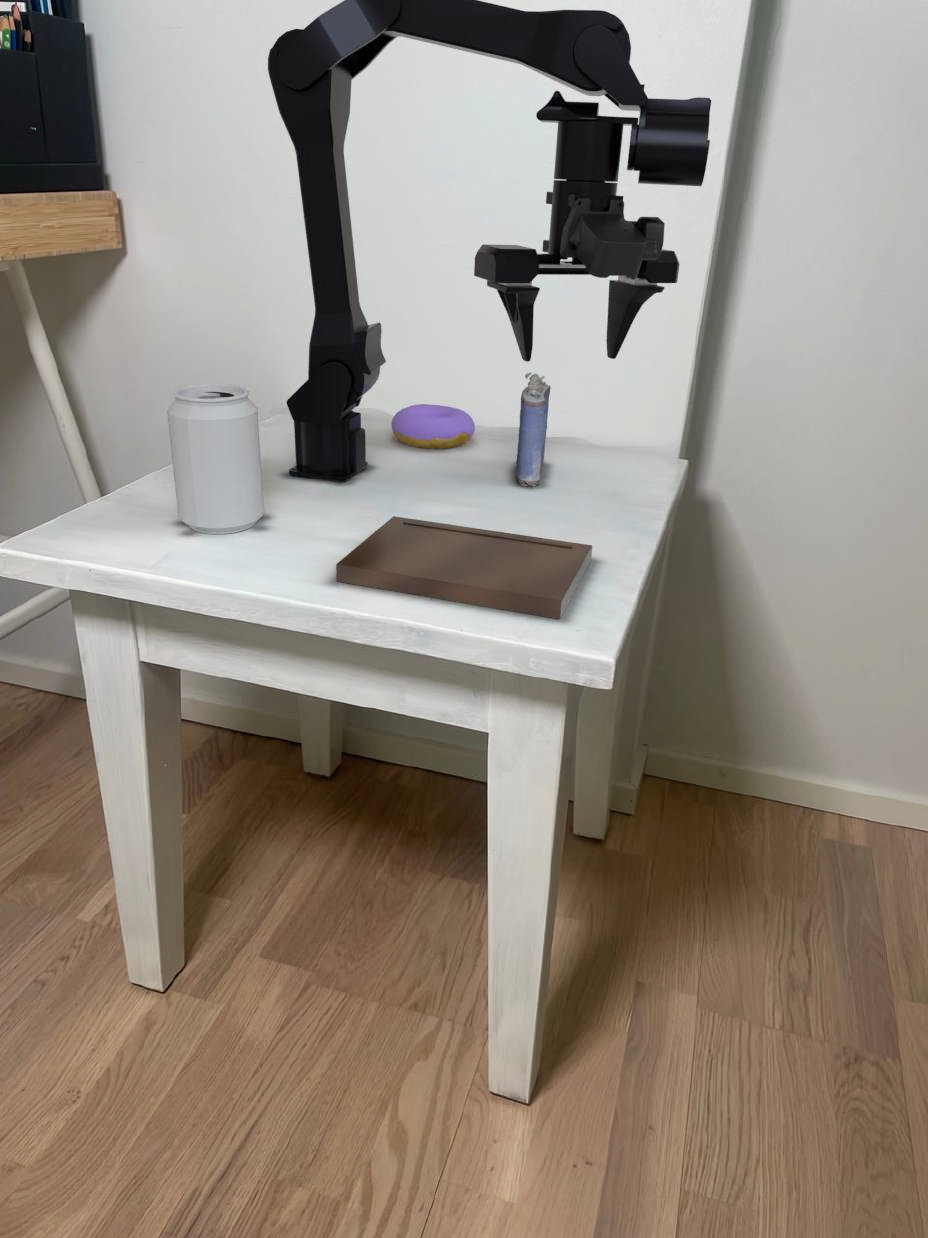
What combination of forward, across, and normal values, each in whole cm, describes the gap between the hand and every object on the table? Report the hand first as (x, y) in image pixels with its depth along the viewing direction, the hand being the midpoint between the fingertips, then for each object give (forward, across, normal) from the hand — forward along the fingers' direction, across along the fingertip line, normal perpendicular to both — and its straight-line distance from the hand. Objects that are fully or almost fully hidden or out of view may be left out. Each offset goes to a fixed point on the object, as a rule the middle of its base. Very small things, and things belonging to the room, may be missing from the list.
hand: (569, 359), depth 89 cm
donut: (+14, -6, +21) cm, 26 cm away
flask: (+13, -1, +6) cm, 15 cm away
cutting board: (+13, -16, -17) cm, 27 cm away
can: (+14, -34, -1) cm, 37 cm away
